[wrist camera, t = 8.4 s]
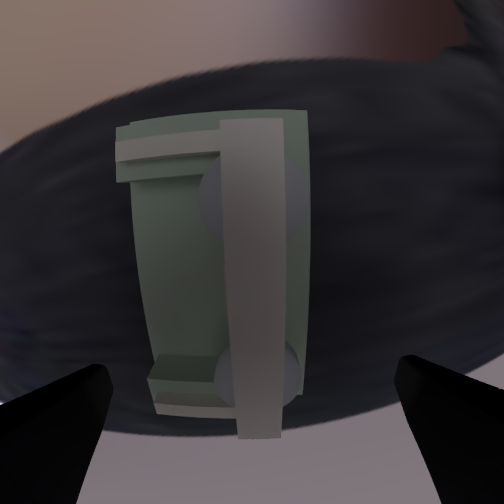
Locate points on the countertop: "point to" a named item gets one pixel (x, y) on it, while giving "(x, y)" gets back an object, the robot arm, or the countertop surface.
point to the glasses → (243, 265)
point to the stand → (200, 254)
